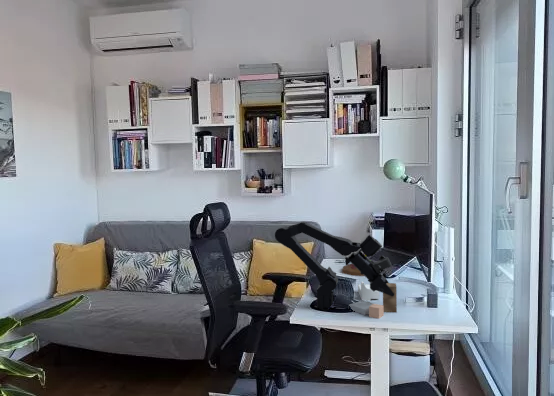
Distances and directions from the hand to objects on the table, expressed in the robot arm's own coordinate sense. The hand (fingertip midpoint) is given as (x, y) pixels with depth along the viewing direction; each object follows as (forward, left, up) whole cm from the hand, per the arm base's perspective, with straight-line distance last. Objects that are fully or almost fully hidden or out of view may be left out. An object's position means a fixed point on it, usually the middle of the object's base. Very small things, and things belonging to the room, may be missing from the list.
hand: (393, 293), depth 181 cm
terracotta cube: (-10, 0, -7) cm, 12 cm away
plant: (+38, +51, -7) cm, 64 cm away
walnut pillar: (-1, +1, -7) cm, 7 cm away
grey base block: (-8, +8, -7) cm, 13 cm away
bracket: (+8, +19, -7) cm, 22 cm away
